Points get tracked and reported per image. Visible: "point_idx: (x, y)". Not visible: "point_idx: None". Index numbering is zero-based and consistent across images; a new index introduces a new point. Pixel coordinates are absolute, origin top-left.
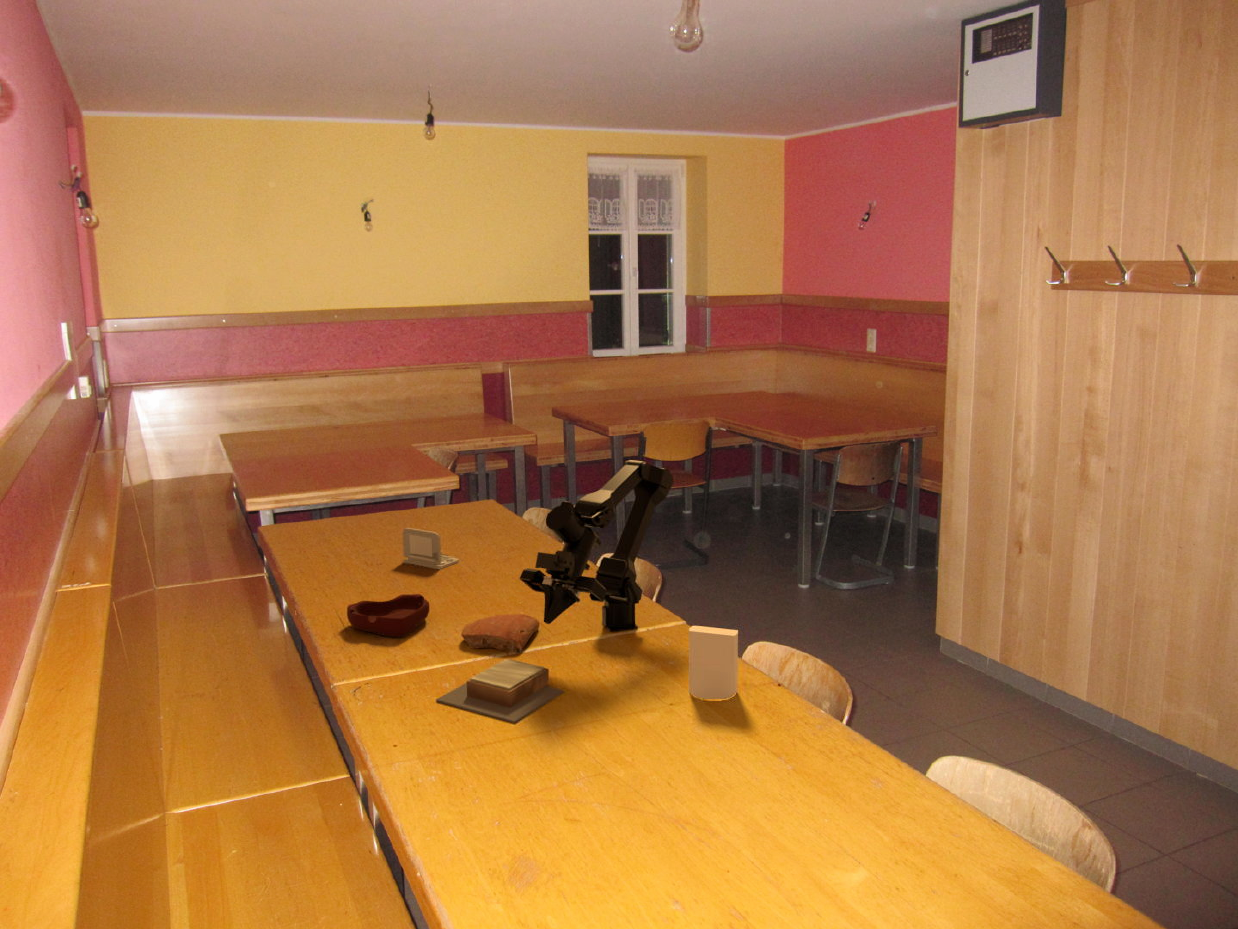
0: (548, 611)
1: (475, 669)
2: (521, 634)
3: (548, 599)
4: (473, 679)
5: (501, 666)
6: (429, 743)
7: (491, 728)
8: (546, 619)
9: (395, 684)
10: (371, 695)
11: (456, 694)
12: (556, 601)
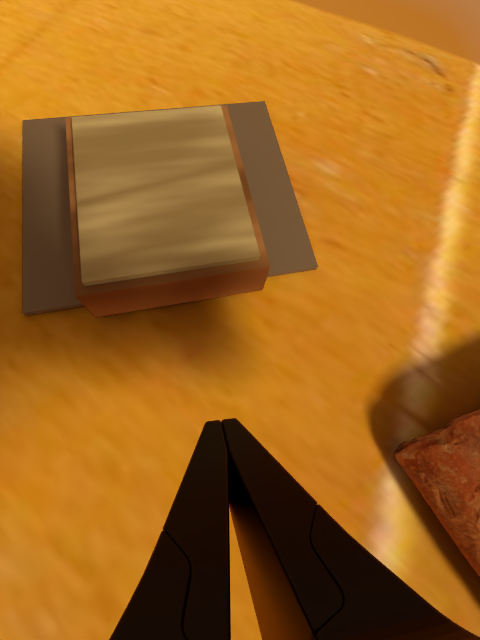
0: (238, 481)
1: (364, 267)
2: (473, 510)
3: (313, 575)
4: (209, 107)
5: (217, 201)
6: (120, 9)
7: (59, 90)
8: (216, 429)
9: (407, 112)
10: (386, 64)
11: (252, 136)
12: (151, 598)
